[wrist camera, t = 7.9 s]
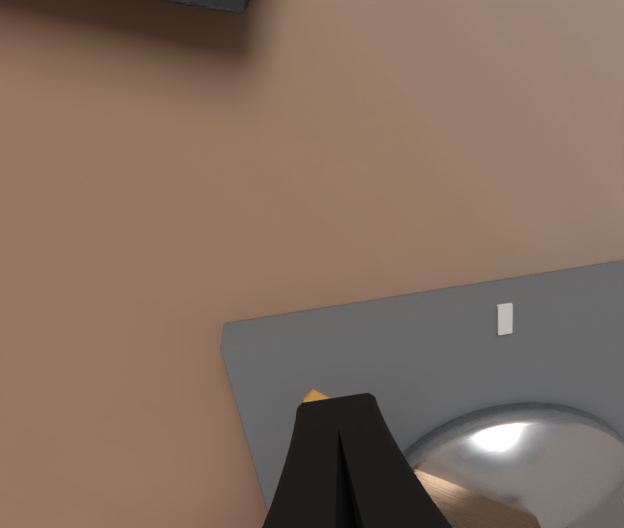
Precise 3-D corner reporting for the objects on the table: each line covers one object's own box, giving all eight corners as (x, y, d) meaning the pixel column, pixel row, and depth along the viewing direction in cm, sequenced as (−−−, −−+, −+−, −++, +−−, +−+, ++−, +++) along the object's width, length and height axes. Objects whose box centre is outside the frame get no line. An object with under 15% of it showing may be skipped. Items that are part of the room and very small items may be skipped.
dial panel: (764, 238, 21) (800, 260, 20) (681, 571, 31) (701, 602, 30) (224, 323, 22) (220, 350, 20) (308, 624, 32) (309, 657, 30)
